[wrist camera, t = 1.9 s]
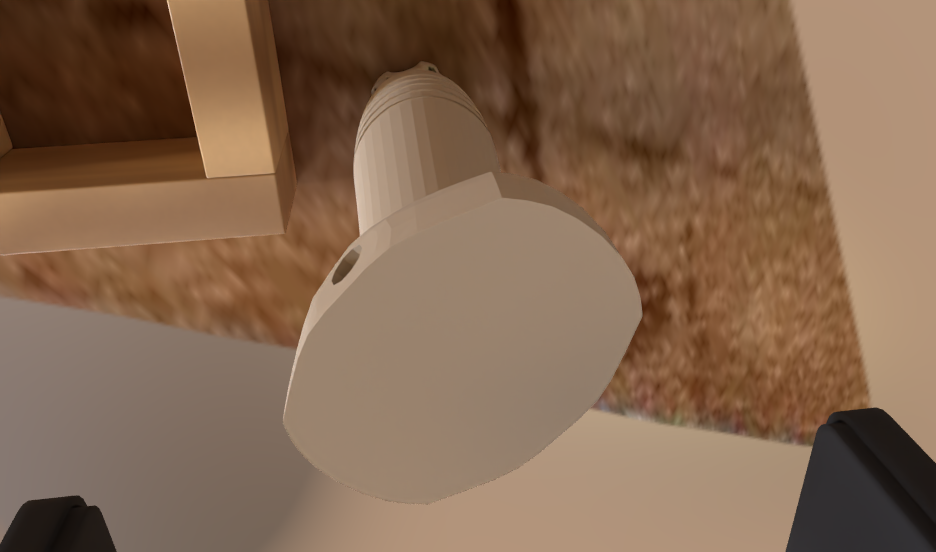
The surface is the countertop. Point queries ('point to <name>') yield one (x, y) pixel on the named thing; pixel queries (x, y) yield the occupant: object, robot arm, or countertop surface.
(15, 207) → the socket block
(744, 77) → the countertop surface
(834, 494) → the robot arm
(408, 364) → the handle
